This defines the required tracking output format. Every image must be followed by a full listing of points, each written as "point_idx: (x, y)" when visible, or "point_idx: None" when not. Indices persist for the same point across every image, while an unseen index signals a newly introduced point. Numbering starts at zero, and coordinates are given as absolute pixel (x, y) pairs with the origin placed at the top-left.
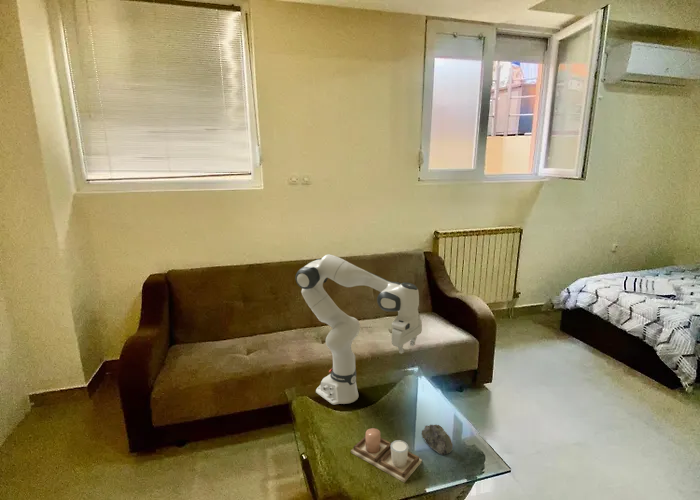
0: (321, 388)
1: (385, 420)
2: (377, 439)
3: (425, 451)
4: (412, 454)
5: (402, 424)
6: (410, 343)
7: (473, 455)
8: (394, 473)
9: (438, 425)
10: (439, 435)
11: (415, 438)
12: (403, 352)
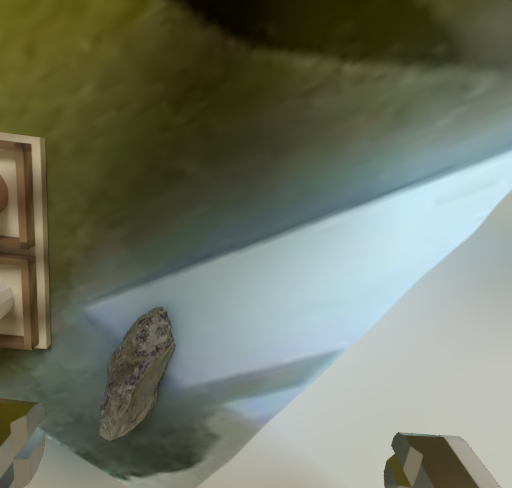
0: None
1: (166, 150)
2: None
3: (101, 337)
4: (26, 329)
5: (182, 219)
6: (419, 459)
7: (171, 446)
8: None
9: (119, 415)
10: (101, 412)
11: (138, 289)
12: (31, 457)
